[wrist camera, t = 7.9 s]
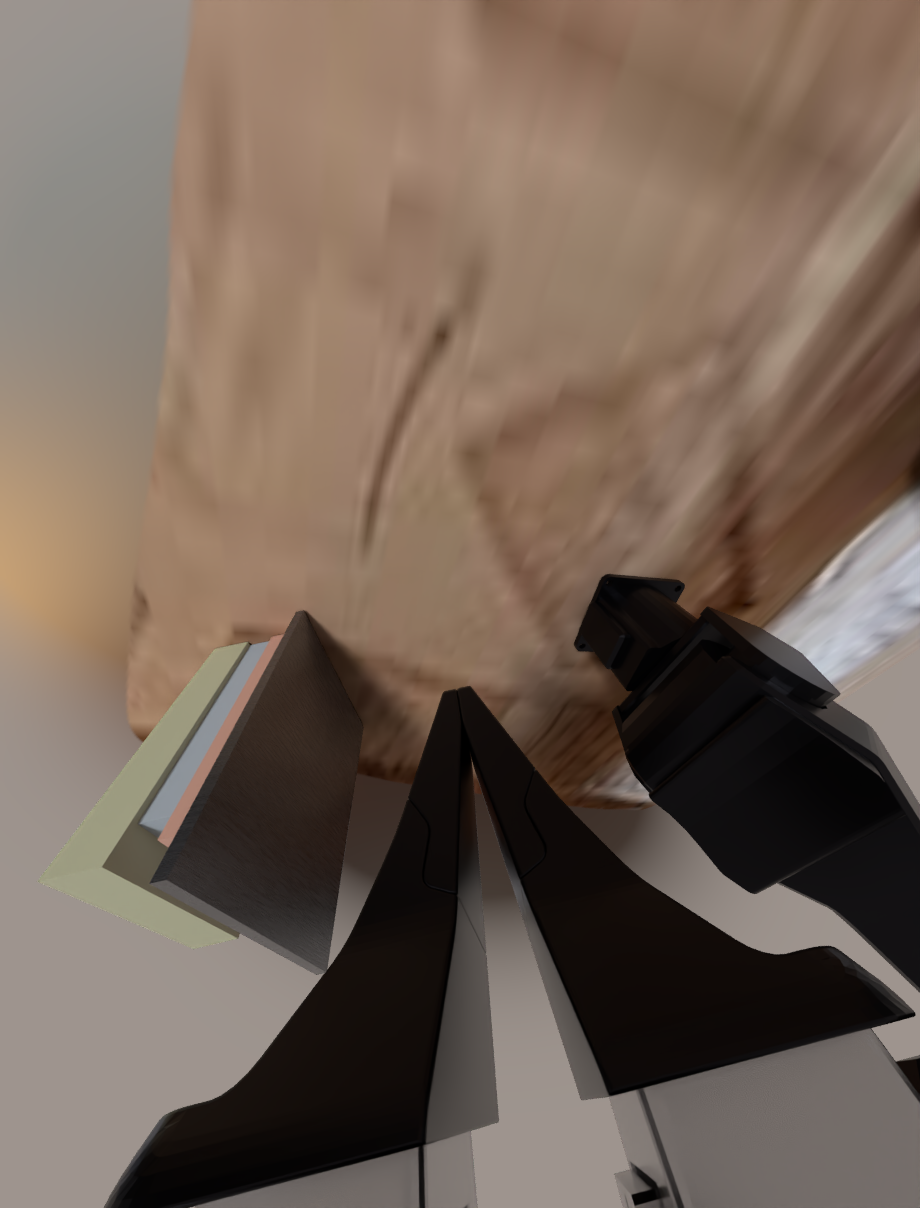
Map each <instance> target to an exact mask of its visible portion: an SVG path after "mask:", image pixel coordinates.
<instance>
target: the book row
mask: <svg viewBox="0 0 920 1208" xmlns="http://www.w3.org/2000/svg"><path fill="white" fill-rule="evenodd" d="M283 635H284V634H283ZM283 635H278V636H273V637H271V639H270V641H268V642H263V643H258V644H254V645H250V644H249V643H248V642H245V643H240V644H235V645H230V646H226V647H221V648H216V649H214V651H213V652H212V653H211V654H210V656H209V657H208V658H207V660H206V661H205V662H204V664H203V665H202V666H201V668H200V669H199V670H198V672H197V673H196V674H195V675H194V677H193V678H192V679H191V681H190V682H189V683H188V685H187V686H186V687H185V689H184V690H183V691H182V692H181V694H180V695H179V696H178V698H177V699H176V700H175V702H174V703H173V704H172V706H171V707H170V708H169V710H168V711H167V712H166V713H165V715H164V716H163V717H162V719H161V720H160V721H159V723H158V724H157V725H156V727H155V728H154V729H153V730H152V732H151V733H150V734H149V736H148V737H147V738H146V740H145V741H144V742H143V744H142V745H141V746H140V748H139V749H138V750H137V752H136V753H135V754H134V756H133V757H132V758H131V759H130V761H129V762H128V763H127V765H126V766H125V767H124V769H123V770H122V771H121V772H120V774H119V775H118V776H117V778H116V779H115V780H114V782H113V783H112V784H111V786H110V787H109V788H108V789H107V791H106V792H105V793H104V795H103V796H102V797H101V799H100V800H99V801H98V803H97V804H96V805H95V807H94V808H93V809H92V810H91V812H90V813H89V814H88V816H87V817H86V818H85V820H84V821H83V822H82V824H81V825H80V826H79V827H78V829H77V830H76V832H75V833H74V834H73V835H72V837H71V838H70V839H69V841H68V842H67V843H66V845H65V846H64V847H63V848H62V850H61V851H60V852H59V854H58V855H57V856H56V858H55V859H54V860H53V862H52V863H51V864H50V865H49V867H48V868H47V869H46V871H45V872H44V873H43V875H42V876H41V877H40V879H39V880H38V882H39V883H41V884H44V885H46V886H48V887H51V888H53V889H55V890H58V891H60V892H62V893H64V894H67V895H69V896H71V897H74V898H76V899H78V900H81V901H83V902H85V903H88V904H90V905H93V906H95V907H97V908H99V909H102V910H104V911H106V912H109V913H111V914H113V915H116V916H118V917H120V918H123V919H125V920H128V921H129V922H132V923H134V924H137V925H139V926H141V927H143V928H146V929H148V930H150V931H153V932H155V933H157V934H160V935H162V936H164V937H167V938H169V939H171V940H174V941H176V942H178V943H181V944H183V945H185V946H188V947H190V948H192V949H196V948H200V947H204V946H208V945H213V944H217V943H221V942H226V941H230V940H234V939H238V937H239V934H240V933H239V932H237V931H235V930H233V929H231V928H229V927H228V926H226V925H224V924H222V923H220V922H218V921H217V920H215V919H213V918H211V917H209V916H207V915H206V914H204V913H202V912H200V911H198V910H196V909H195V908H193V907H191V906H189V905H187V904H185V903H183V902H182V901H180V900H178V899H176V898H174V897H172V896H171V895H169V894H167V893H165V892H163V891H161V890H160V889H158V888H156V887H154V886H152V885H150V884H149V883H150V881H151V879H152V877H153V876H154V874H155V872H156V870H157V868H158V866H159V864H160V863H161V861H162V859H163V857H164V855H165V853H166V851H167V850H168V848H169V846H170V844H171V842H172V840H173V839H174V837H175V835H176V833H177V831H178V829H179V827H180V826H181V824H182V822H183V820H184V818H185V816H186V815H187V813H188V811H189V809H190V807H191V805H192V803H193V802H194V800H195V798H196V796H197V794H198V792H199V791H200V789H201V787H202V785H203V783H204V781H205V779H206V778H207V776H208V774H209V772H210V770H211V768H212V767H213V765H214V763H215V761H216V759H217V757H218V755H219V754H220V752H221V750H222V748H223V746H224V744H225V743H226V741H227V739H228V737H229V735H230V733H231V731H232V730H233V728H234V726H235V724H236V722H237V720H238V719H239V717H240V715H241V713H242V711H243V709H244V707H245V706H246V704H247V702H248V700H249V698H250V696H251V694H252V693H253V691H254V689H255V687H256V685H257V683H258V682H259V680H260V678H261V676H262V674H263V672H264V670H265V669H266V667H267V665H268V663H269V661H270V659H271V658H272V656H273V654H274V652H275V650H276V648H277V646H278V645H279V643H280V641H281V639H282V637H283Z"/></svg>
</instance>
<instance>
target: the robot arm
mask: <svg viewBox="0 0 920 1208" xmlns="http://www.w3.org/2000/svg"><path fill="white" fill-rule="evenodd" d="M609 580H610V582H609V583H607V581H609ZM606 583H607V584H606ZM684 588H685V585H684V583H682V582H681V581H679V580H672V579H661V578H649V577H637V576H625V575H613V574H607V575H604V576H603V577H602V578H601V580H600V582H599V584H598V587H597V589H596V592H595V594H594V597H593V599H592V601H591V604H590V605H589V608H588V610H587V613H586V615H585V617H584V620H583V622H582V625H581V627H580V629H579V633H578V635H577V638H576V640H575V642H574V646H575V648H576V649H577V650H578V651H590V652H595V654H596V655H597V656H598V658H599V659H600V661H601V662H602V663H603V665H604V666H605V667H606V668H607V669H611V670H612V672H613V673H614V674H615V676H616V677H617V678H618V680H619V681H620V682H621V684H622V685H623V686H624V688H625V689H626V690H627V691H632V692H631V693H630V694H629V695H628V697H627V698H626V699H625V700H624V701H623V702H622V703H621V704H620V705H619V706H618V705H617V706H616V707H615V709H614V710H613V711H612V714H613V717H614V720H615V723H616V726H617V729H618V732H619V735H620V738H621V741H622V744H623V747H624V751H625V755H626V759H627V760H628V763H629V765H630V767H631V770H632V771H633V773H634V776H635V777H636V778H637V779H638V780H639V781H640V783H641V784H642V785H643V786H644V787H645V788H646V790H647V791H648V792H649V797H650V799H651V800H652V801H653V802H655V803H656V804H657V805H658V806H660V807H661V808H662V809H663V810H665V811H666V812H667V813H669V814H670V815H671V816H672V817H673V818H674V819H675V820H676V821H677V822H678V823H679V824H680V825H681V826H682V827H683V828H684V829H685V830H686V831H687V832H688V833H689V834H690V835H691V837H692V838H693V839H694V840H695V841H696V842H697V843H698V845H699V846H700V847H701V848H702V850H703V851H704V852H705V853H706V854H707V856H708V857H709V858H710V859H711V860H712V862H713V863H714V864H715V865H716V867H717V868H718V869H719V870H720V872H722V874H724V875H725V876H726V877H728V878H729V879H730V880H732V881H733V882H735V883H736V884H738V885H739V886H741V887H742V888H744V889H745V890H747V891H748V892H750V893H753V894H757V893H759V892H761V891H763V890H765V889H767V888H769V887H771V886H772V885H774V884H776V883H778V884H780V885H782V886H784V887H786V888H788V889H790V890H792V891H794V892H796V893H799V894H801V895H803V896H805V897H807V898H809V899H811V900H813V901H815V902H817V903H820V904H821V905H824V906H826V907H828V908H829V909H831V910H833V911H834V912H835V913H836V914H837V915H838V916H839V917H841V918H842V919H843V920H844V921H845V922H846V923H847V924H849V925H850V926H851V927H852V928H853V929H854V930H855V931H856V932H857V933H858V934H859V935H860V936H861V937H862V938H863V939H864V940H865V941H866V942H867V943H869V944H870V945H871V946H872V947H873V948H874V949H875V950H876V951H877V952H878V953H879V954H880V955H881V956H882V957H883V958H884V959H885V960H886V961H887V962H888V963H889V964H891V965H892V966H893V967H894V968H895V969H896V970H897V971H898V972H899V973H900V974H901V975H902V976H903V977H904V978H905V979H906V980H907V981H908V982H909V983H910V984H911V985H912V986H914V987H915V988H916V989H917V990H918V991H919V992H920V804H919V803H918V801H917V799H916V798H915V796H914V794H913V793H912V791H911V789H910V788H909V786H908V784H907V783H906V781H905V780H904V778H903V776H902V775H901V773H900V771H899V770H898V768H897V767H896V765H895V763H894V761H893V760H892V758H891V757H890V755H889V753H888V752H887V750H886V749H885V747H884V745H883V744H882V742H881V740H880V739H879V737H878V735H877V734H876V732H875V731H874V730H873V728H872V727H870V726H869V725H868V724H867V723H865V722H864V721H863V720H861V719H860V718H858V717H857V716H855V715H854V714H852V713H851V712H849V711H848V710H846V709H845V708H843V707H842V706H840V705H838V704H837V703H836V702H834V701H833V700H834V699H835V698H837V697H838V696H839V695H840V692H839V691H838V690H837V689H836V688H835V687H834V686H833V685H832V684H831V683H830V682H829V681H828V680H827V679H826V678H825V677H824V676H823V675H822V674H821V673H820V672H819V671H818V670H817V668H816V667H815V666H814V665H813V664H812V663H811V662H810V661H809V660H808V659H807V658H806V657H805V656H804V655H803V654H802V653H801V652H799V651H798V650H796V649H794V648H793V647H791V646H789V645H788V644H786V643H785V642H783V641H781V640H780V639H778V638H776V637H775V636H773V635H771V634H770V633H768V632H766V631H765V630H763V629H761V628H759V627H757V626H755V625H752V624H750V623H747V622H745V621H742V620H740V619H738V618H735V617H733V616H730V615H728V614H725V613H723V612H720V611H718V610H715V609H713V608H710V607H708V606H707V607H706V608H705V609H704V610H703V612H702V613H701V614H700V615H701V616H700V618H699V619H696V618H695V617H694V616H692V615H691V614H690V613H688V612H687V611H686V610H685V609H683V608H682V607H681V606H679V605H678V604H677V603H676V602H677V600H678V599H679V597H680V595H681V593H682V592H683V590H684ZM581 644H582V645H581ZM471 758H472V760H471ZM472 762H473V765H474V769H475V772H476V775H477V778H478V781H479V784H480V787H481V790H482V794H483V796H484V800H485V803H486V806H487V809H488V812H489V815H490V818H491V822H492V825H493V828H494V831H495V834H496V837H497V840H498V843H499V846H500V849H501V853H502V855H503V859H504V862H505V865H506V868H507V871H508V874H509V877H510V881H511V883H512V887H513V890H514V893H515V896H516V899H517V902H518V905H519V908H520V912H521V915H522V918H523V920H524V924H525V927H526V930H527V933H528V936H529V939H530V942H531V946H532V949H533V952H534V955H535V958H536V961H537V964H538V968H539V970H540V974H541V977H542V980H543V983H544V986H545V989H546V992H547V995H548V998H549V1001H550V1005H551V1008H552V1011H553V1014H554V1017H555V1020H556V1023H557V1026H558V1030H559V1033H560V1036H561V1039H562V1042H563V1045H564V1048H565V1051H566V1054H567V1058H568V1061H569V1064H570V1067H571V1070H572V1073H573V1076H574V1079H575V1082H576V1086H577V1089H578V1092H579V1095H580V1098H581V1100H587V1099H594V1098H603V1097H609V1099H610V1102H611V1106H612V1109H613V1113H614V1116H615V1119H616V1123H617V1126H618V1130H619V1133H620V1137H621V1140H622V1144H623V1147H624V1150H625V1154H626V1157H627V1161H628V1164H629V1168H630V1170H626V1171H623V1172H619V1173H615V1174H614V1175H615V1179H616V1183H617V1187H618V1190H619V1194H620V1198H621V1202H622V1205H623V1208H920V1055H919V1056H915V1057H911V1058H908V1059H904V1060H900V1061H897V1062H896V1061H895V1060H894V1059H893V1057H892V1056H891V1055H890V1053H889V1052H888V1051H887V1049H886V1048H885V1046H884V1045H883V1044H882V1042H881V1041H880V1040H879V1038H878V1037H877V1036H876V1034H875V1033H874V1032H873V1030H872V1029H871V1028H873V1027H877V1026H881V1025H885V1024H888V1023H892V1022H896V1021H900V1020H903V1019H907V1018H910V1017H914V1016H915V1012H914V1011H913V1010H912V1009H911V1008H910V1007H909V1006H908V1005H907V1004H906V1003H905V1002H904V1001H903V1000H902V999H901V998H900V997H899V996H898V995H896V994H895V992H893V991H892V990H891V989H890V988H888V987H887V986H886V985H885V984H884V983H883V982H881V981H880V980H879V979H877V978H876V977H875V976H873V975H872V974H871V973H869V972H868V971H867V970H865V969H864V968H863V967H861V966H860V965H858V964H857V963H856V962H855V961H853V960H852V959H850V958H849V957H848V956H847V955H845V954H844V953H842V952H841V951H839V950H838V949H836V948H835V947H832V946H818V947H812V948H808V949H803V950H799V951H795V952H791V953H787V954H779V955H778V954H777V955H775V954H770V953H765V952H761V951H758V950H756V949H753V948H750V947H748V946H746V945H744V944H743V943H741V942H739V941H737V940H735V939H734V938H732V937H731V936H729V935H728V934H726V933H725V932H723V931H721V930H720V929H718V928H717V927H715V926H714V925H712V924H711V923H709V922H708V921H706V920H704V919H703V918H701V917H700V916H698V915H697V914H695V913H694V912H692V911H690V910H689V909H687V908H686V907H684V906H683V905H681V904H680V903H678V902H676V901H675V900H673V899H672V898H670V897H669V896H667V895H666V894H664V893H662V892H661V891H659V890H658V889H656V888H655V887H653V886H652V885H650V884H649V883H647V882H646V881H644V880H643V879H642V878H640V877H639V876H638V875H637V874H636V873H634V872H633V871H632V870H631V869H630V868H629V867H628V866H626V865H625V864H624V863H623V862H622V861H621V860H620V859H619V858H618V857H617V856H616V855H615V854H614V853H613V852H612V851H611V850H610V849H609V848H608V847H607V846H606V845H605V844H604V843H603V842H602V841H601V840H600V839H599V838H598V837H597V836H596V835H595V834H594V833H593V832H592V831H591V830H590V829H589V828H588V827H587V826H586V825H585V824H584V823H583V822H582V821H581V820H580V819H579V818H578V817H577V816H576V815H575V814H574V813H573V812H572V811H571V810H570V808H569V807H568V806H567V805H566V804H565V803H564V802H563V801H562V800H561V799H560V798H559V797H558V796H557V794H556V793H555V792H554V791H553V790H552V788H551V787H550V786H549V785H548V784H547V782H546V781H545V780H544V779H543V777H542V776H541V775H540V774H539V772H538V771H537V770H535V767H534V766H533V765H532V764H531V762H530V761H529V760H528V759H527V757H526V756H525V755H524V753H523V752H522V751H521V750H520V748H519V747H518V746H517V745H516V743H515V742H514V741H513V739H512V738H511V737H510V736H509V734H508V733H507V732H506V731H505V729H504V728H503V727H502V725H501V724H500V723H499V722H498V720H497V719H496V718H495V717H494V715H493V714H492V713H491V711H490V710H489V709H488V708H487V706H486V705H485V704H484V703H483V701H482V700H481V699H480V698H479V696H478V695H477V694H476V692H475V691H474V690H473V689H472V687H470V686H466V687H461V688H458V690H456V689H452V690H448V691H444V692H443V694H442V697H441V700H440V703H439V706H438V709H437V712H436V715H435V718H434V721H433V724H432V727H431V730H430V733H429V736H428V739H427V742H426V745H425V748H424V751H423V754H422V757H421V760H420V763H419V766H418V769H417V772H416V775H415V778H414V781H413V784H412V788H411V791H410V793H409V796H408V798H409V800H407V802H406V805H405V808H404V811H403V814H402V817H401V820H400V822H399V825H398V828H397V831H396V834H395V836H394V839H393V841H392V843H391V846H390V848H389V850H388V853H387V855H386V857H385V860H384V862H383V864H382V867H381V869H380V871H379V873H378V875H377V878H376V880H375V882H374V884H373V886H372V889H371V891H370V893H369V895H368V898H367V900H366V902H365V905H364V906H363V909H362V911H361V913H360V915H359V917H358V920H357V922H356V924H355V926H354V928H353V930H352V932H351V934H350V936H349V938H348V940H347V941H346V943H345V945H344V947H343V948H342V950H341V952H340V953H339V954H338V956H337V957H336V959H335V960H334V962H333V963H332V964H331V966H330V967H329V968H328V970H327V971H326V972H325V974H324V975H323V976H322V977H321V979H320V980H319V982H318V983H317V984H316V985H315V987H314V988H313V989H312V991H311V992H310V993H309V995H308V996H307V997H306V999H305V1000H304V1001H303V1003H302V1004H301V1005H300V1006H299V1008H298V1009H297V1010H296V1012H295V1013H294V1014H293V1016H292V1017H291V1018H290V1020H289V1021H288V1022H287V1024H286V1025H285V1026H284V1028H283V1029H282V1030H281V1032H280V1033H279V1034H278V1035H277V1037H276V1038H275V1040H274V1041H273V1042H272V1044H271V1045H270V1046H269V1047H268V1049H267V1050H266V1051H265V1053H264V1054H263V1055H262V1057H261V1058H260V1059H259V1060H258V1062H257V1063H256V1064H255V1065H254V1066H253V1068H252V1069H251V1070H250V1071H249V1072H248V1073H247V1074H246V1075H245V1076H244V1077H243V1078H242V1079H241V1080H240V1081H239V1082H238V1083H237V1084H236V1085H235V1086H234V1087H232V1088H231V1089H229V1090H228V1091H227V1092H225V1093H224V1094H223V1095H221V1096H219V1097H217V1098H215V1099H213V1100H210V1101H206V1102H202V1103H198V1104H194V1105H190V1106H187V1107H183V1108H180V1109H177V1110H174V1111H172V1112H170V1113H168V1114H166V1115H165V1116H163V1117H162V1118H161V1119H160V1120H159V1122H158V1123H157V1124H156V1126H155V1127H154V1129H153V1130H152V1132H151V1133H150V1135H149V1136H148V1138H147V1139H146V1140H145V1142H144V1143H143V1145H142V1146H141V1148H140V1149H139V1150H138V1152H137V1153H136V1155H135V1156H134V1158H133V1159H132V1161H131V1163H130V1164H129V1166H128V1167H127V1169H126V1170H125V1172H124V1173H123V1175H122V1176H121V1178H120V1180H119V1181H118V1183H117V1185H116V1186H115V1188H114V1190H113V1191H112V1193H111V1195H110V1196H109V1199H108V1201H107V1203H106V1204H105V1206H104V1208H190V1207H194V1206H195V1208H478V1207H477V1196H476V1184H475V1173H474V1162H473V1151H472V1140H471V1131H472V1130H475V1129H478V1128H481V1127H485V1126H488V1125H491V1124H494V1123H497V1122H498V1121H499V1117H498V1104H497V1091H496V1077H495V1064H494V1050H493V1037H492V1024H491V1010H490V997H489V985H488V984H489V983H488V970H487V957H486V945H485V931H484V917H483V904H482V890H481V876H480V864H479V850H478V837H477V824H476V809H475V796H474V783H473V769H472Z"/></svg>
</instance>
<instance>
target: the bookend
mask: <svg viewBox="0 0 920 1208" xmlns="http://www.w3.org/2000/svg"><path fill="white" fill-rule="evenodd" d="M362 734H363V725H362V723H361V721H360V719H359V717H358V715H357V714H356V712H355V710H354V708H353V706H352V704H351V702H350V700H349V698H348V696H347V694H346V692H345V690H344V688H343V686H342V684H341V682H340V680H339V678H338V676H337V674H336V672H335V670H334V668H333V667H332V665H331V663H330V661H329V659H328V657H327V655H326V653H325V651H324V649H323V647H322V645H321V643H320V641H319V639H318V637H317V635H316V633H315V631H314V629H313V627H312V625H311V623H310V622H309V620H308V618H307V616H306V614H305V612H304V611H299V612H296V613H295V615H294V617H293V619H292V621H291V622H290V624H289V626H288V628H287V630H286V632H285V634H284V635H283V637H282V639H281V641H280V643H279V645H278V646H277V648H276V650H275V652H274V654H273V656H272V658H271V659H270V661H269V663H268V665H267V667H266V669H265V670H264V672H263V674H262V676H261V678H260V680H259V682H258V683H257V685H256V687H255V689H254V691H253V693H252V694H251V696H250V698H249V700H248V702H247V704H246V706H245V707H244V709H243V711H242V713H241V715H240V717H239V719H238V720H237V722H236V724H235V726H234V728H233V730H232V731H231V733H230V735H229V737H228V739H227V741H226V743H225V744H224V746H223V748H222V750H221V752H220V754H219V755H218V757H217V759H216V761H215V763H214V765H213V767H212V768H211V770H210V772H209V774H208V776H207V778H206V779H205V781H204V783H203V785H202V787H201V789H200V791H199V792H198V794H197V796H196V798H195V800H194V802H193V803H192V805H191V807H190V809H189V811H188V813H187V815H186V816H185V818H184V820H183V822H182V824H181V826H180V827H179V829H178V831H177V833H176V835H175V837H174V839H173V840H172V842H171V844H170V846H169V848H168V850H167V851H166V853H165V855H164V857H163V859H162V861H161V863H160V864H159V866H158V868H157V870H156V872H155V874H154V876H153V877H152V879H151V881H150V883H149V884H150V885H152V886H154V887H156V888H158V889H160V890H161V891H163V892H165V893H167V894H169V895H171V896H172V897H174V898H176V899H178V900H180V901H182V902H183V903H185V904H187V905H189V906H191V907H193V908H195V909H196V910H198V911H200V912H202V913H204V914H206V915H207V916H209V917H211V918H213V919H215V920H217V921H218V922H220V923H222V924H224V925H226V926H228V927H229V928H231V929H233V930H235V931H237V932H239V933H241V934H242V935H244V936H246V937H248V938H250V939H252V940H253V941H255V942H257V943H259V944H261V945H263V946H264V947H267V948H268V949H270V950H272V951H274V952H276V953H277V954H279V955H281V956H283V957H285V958H287V959H288V960H290V961H292V962H294V963H296V964H298V965H300V966H301V967H303V968H305V969H307V970H309V971H310V972H313V973H314V974H316V975H317V974H322V973H325V972H326V971H327V967H328V960H329V953H330V947H331V940H332V934H333V927H334V920H335V913H336V906H337V900H338V893H339V887H340V880H341V874H342V867H343V860H344V853H345V847H346V839H347V834H348V826H349V820H350V813H351V807H352V800H353V794H354V787H355V780H356V774H357V767H358V760H359V754H360V747H361V740H362Z"/></svg>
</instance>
